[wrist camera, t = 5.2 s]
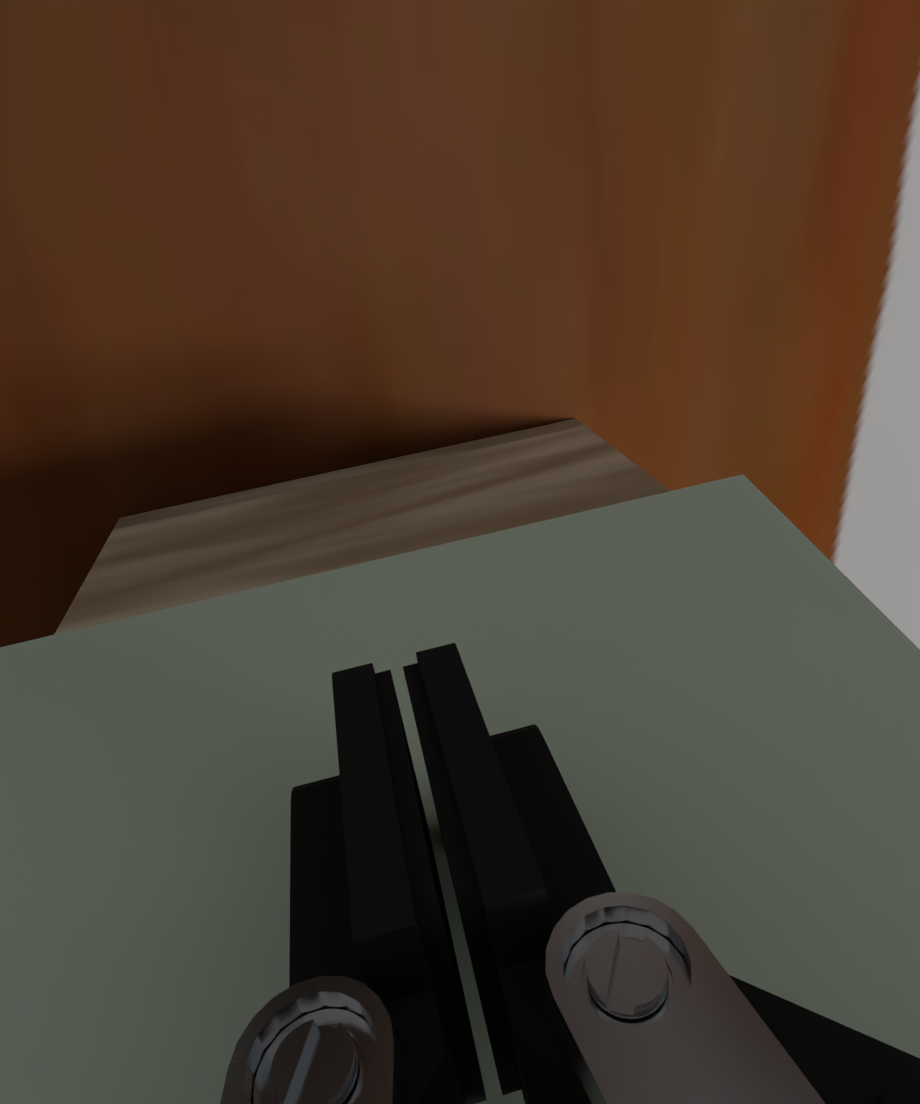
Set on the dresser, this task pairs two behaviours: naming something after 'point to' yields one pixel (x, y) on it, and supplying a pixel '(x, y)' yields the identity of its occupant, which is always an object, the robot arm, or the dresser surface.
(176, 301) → the dresser surface
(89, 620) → the box
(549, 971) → the robot arm
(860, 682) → the lid
